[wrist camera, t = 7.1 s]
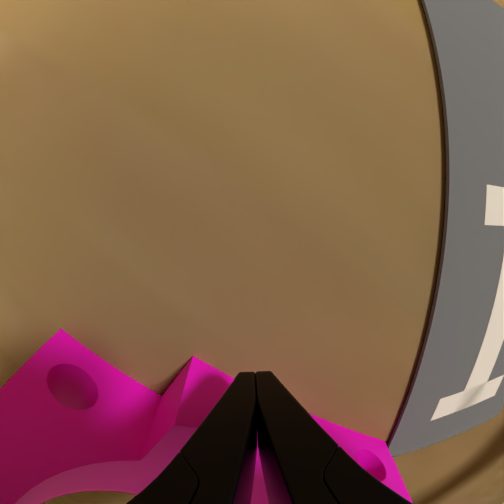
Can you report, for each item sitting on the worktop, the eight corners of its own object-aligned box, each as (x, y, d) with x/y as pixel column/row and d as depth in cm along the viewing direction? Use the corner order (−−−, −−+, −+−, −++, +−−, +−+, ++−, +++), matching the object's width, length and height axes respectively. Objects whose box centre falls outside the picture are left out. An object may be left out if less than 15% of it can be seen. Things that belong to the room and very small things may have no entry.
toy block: (383, 438, 11) (434, 555, 4) (301, 495, 12) (317, 598, 5) (82, 276, 9) (-77, 408, 2) (47, 378, 10) (-34, 488, 3)
